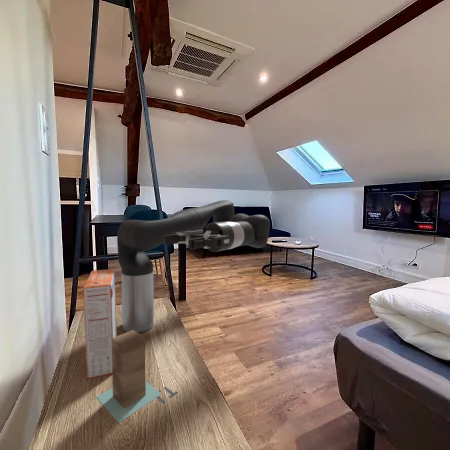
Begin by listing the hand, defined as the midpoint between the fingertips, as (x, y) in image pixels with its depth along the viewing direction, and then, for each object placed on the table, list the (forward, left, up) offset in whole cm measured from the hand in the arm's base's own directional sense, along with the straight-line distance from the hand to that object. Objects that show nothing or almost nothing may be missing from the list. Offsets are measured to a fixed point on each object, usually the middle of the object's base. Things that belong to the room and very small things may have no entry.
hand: (176, 242), depth 56 cm
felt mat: (-1, -11, -30) cm, 32 cm away
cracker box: (-17, -9, -30) cm, 36 cm away
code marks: (+4, -6, -30) cm, 31 cm away
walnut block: (-1, -11, -30) cm, 32 cm away
